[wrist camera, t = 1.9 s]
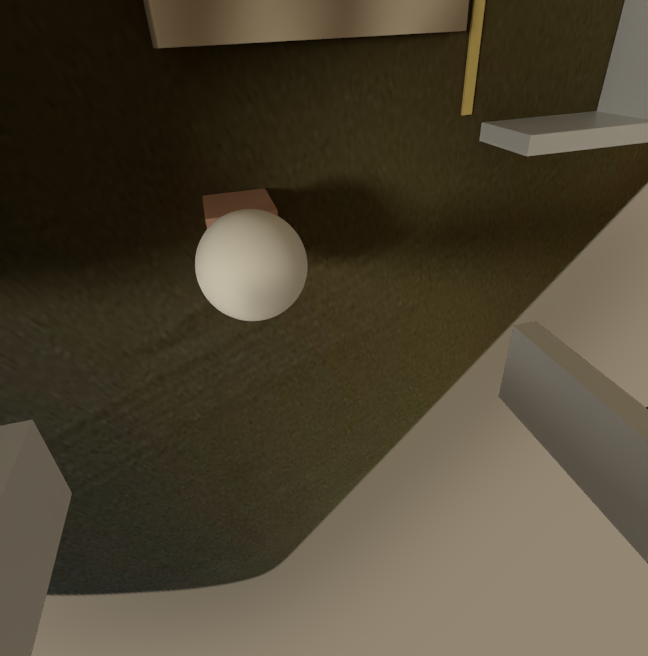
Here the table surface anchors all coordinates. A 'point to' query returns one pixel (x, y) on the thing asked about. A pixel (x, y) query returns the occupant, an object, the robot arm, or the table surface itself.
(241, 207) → the salmon pink box
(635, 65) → the fence
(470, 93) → the line
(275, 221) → the ball
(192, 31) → the ramp
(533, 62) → the table surface
